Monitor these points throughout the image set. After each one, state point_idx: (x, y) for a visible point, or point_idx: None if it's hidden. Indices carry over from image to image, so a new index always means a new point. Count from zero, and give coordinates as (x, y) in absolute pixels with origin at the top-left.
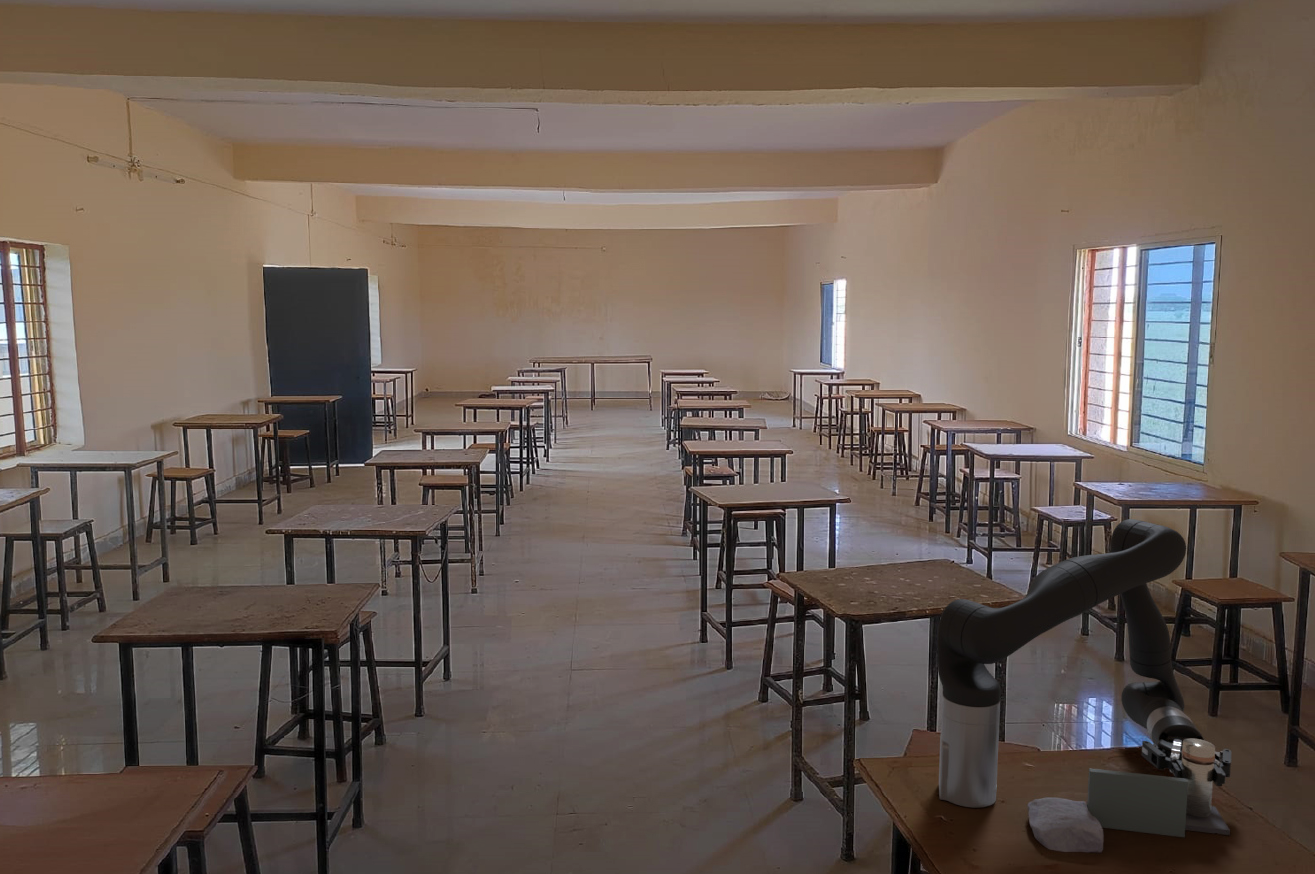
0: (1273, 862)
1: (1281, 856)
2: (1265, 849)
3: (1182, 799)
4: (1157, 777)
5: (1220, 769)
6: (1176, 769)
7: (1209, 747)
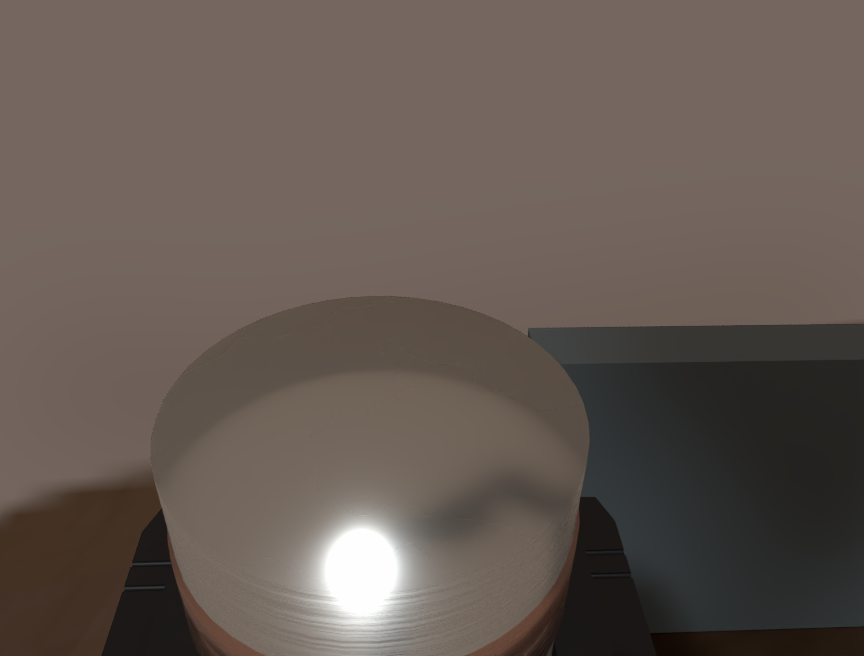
0: (137, 485)
1: (55, 543)
2: (95, 589)
3: None
4: (738, 341)
5: (133, 626)
6: (606, 510)
7: (260, 368)
